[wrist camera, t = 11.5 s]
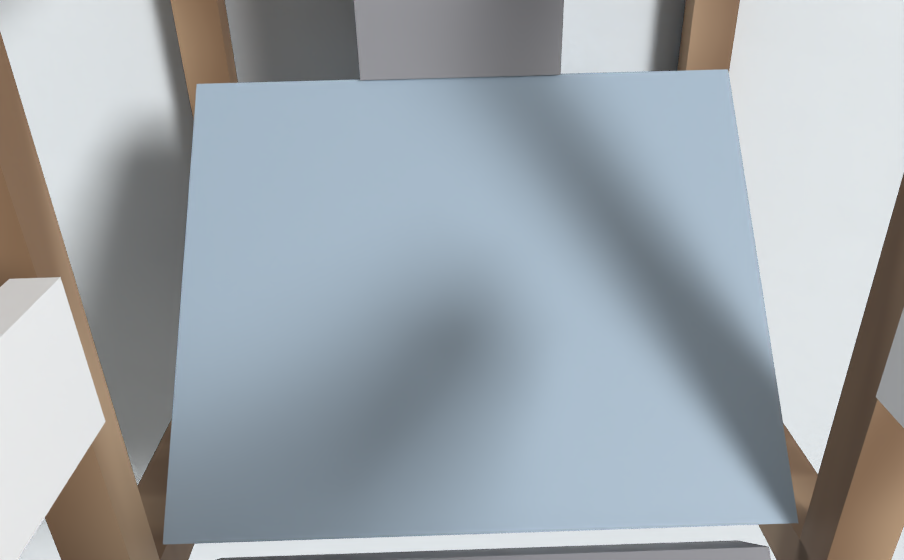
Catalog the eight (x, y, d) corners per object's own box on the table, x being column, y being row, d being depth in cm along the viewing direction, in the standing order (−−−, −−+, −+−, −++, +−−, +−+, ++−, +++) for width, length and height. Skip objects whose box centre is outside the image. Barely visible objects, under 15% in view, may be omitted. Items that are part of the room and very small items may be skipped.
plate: (175, 692, 18) (143, 715, 17) (213, 110, 23) (192, 76, 21) (793, 670, 19) (832, 691, 17) (709, 96, 23) (733, 61, 21)
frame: (240, 325, 32) (94, 644, 18) (141, -208, 23) (-308, -379, 9) (682, 312, 32) (869, 617, 19) (762, -223, 23) (1255, -413, 9)
